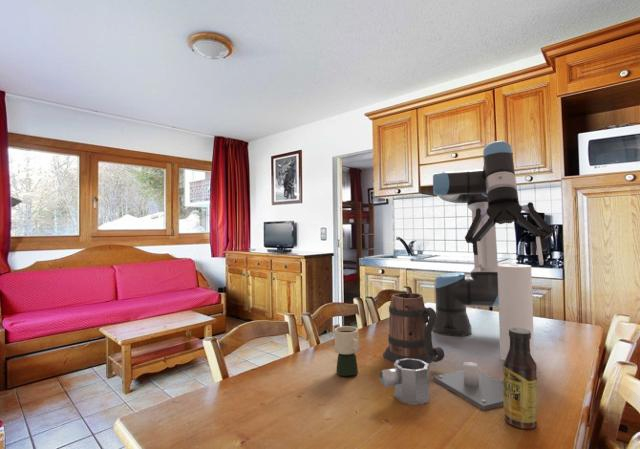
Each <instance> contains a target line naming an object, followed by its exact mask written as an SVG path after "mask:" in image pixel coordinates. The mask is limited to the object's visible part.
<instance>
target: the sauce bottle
mask: <svg viewBox="0 0 640 449" xmlns="http://www.w3.org/2000/svg"><path fill="white" fill-rule="evenodd" d="M509 337H510V347H509V348H510V349H509V351H508V354H507V357H506V359H505V360H504V363H503V365H502V366H503V371H502V372H503V375H502V378H503V380H502V382H503V397H504V405H503V415H504V419H505V421H506V422H507V423H508V424H509V425H512V426H513V427H515V428H517V429H523V430H530V429H531V430H532V429H534V428H536V426H537V420H538V377H537V363H536V361H535V358H534V359H533V358H532V356H531V354H530V338H531V332H530V331H529V330H526V329H522V328H510V329H509Z"/></svg>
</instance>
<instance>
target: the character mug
mask: <svg viewBox="0 0 640 449" xmlns="http://www.w3.org/2000/svg"><path fill="white" fill-rule="evenodd" d="M333 334H334V337H333V338H334V351H335V353H337V354H338V355H337V361H336V374H337V375H339V376H345V377H348V376H349V377H350V376H353V375H357V374H358V373H359V369H358V362H357V356H356V353H357V352H358V351H359V350H360V346H359V338H360V337H359V336H360V335H359V328H358V327H356V326H349V325H343V326H337V327H336V328H334V331H333Z"/></svg>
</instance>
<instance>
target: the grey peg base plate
mask: <svg viewBox="0 0 640 449" xmlns="http://www.w3.org/2000/svg"><path fill="white" fill-rule="evenodd" d="M432 381H434V382H436V383H437V384H439V385H440V386H442V387H444V388H446V389H447V390H449V391H450V392H452V393H454V394H456V395H457V396H460V397H461V398H463V399H464V400H466V401H467V402H469V403H471V404H472V405H474V406H475V407H478V408H480V409H481V410H483V411H487V410H491V409H495V408H498V407H499V408H500V407H504V397H503V381H500V380H499V379H496V378H494V377H492V376H490V375H488V374H486V373H484V372H481V371H480V370H479V364H478V363H476V362H472V361H465V362H463V369H461V370H455V371H450V372H446V373H442V374H436V375H432Z"/></svg>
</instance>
